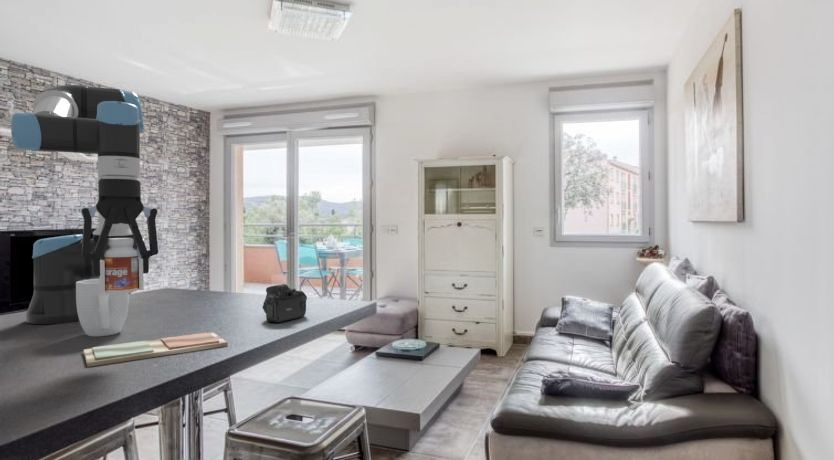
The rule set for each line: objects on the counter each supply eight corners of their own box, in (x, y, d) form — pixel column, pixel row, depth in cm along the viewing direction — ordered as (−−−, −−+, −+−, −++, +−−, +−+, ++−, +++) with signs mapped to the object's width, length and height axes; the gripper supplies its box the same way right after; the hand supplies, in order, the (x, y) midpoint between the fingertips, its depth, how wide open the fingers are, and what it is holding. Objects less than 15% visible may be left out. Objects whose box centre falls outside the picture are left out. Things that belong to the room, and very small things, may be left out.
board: (83, 353, 106) (83, 347, 106) (213, 335, 122) (212, 330, 122) (87, 366, 97) (87, 360, 97) (227, 345, 112) (227, 340, 112)
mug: (132, 338, 119) (131, 283, 119) (76, 345, 113) (75, 286, 113) (127, 326, 132) (127, 276, 131) (76, 332, 125) (75, 279, 125)
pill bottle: (97, 294, 102) (96, 239, 101) (114, 289, 108) (113, 237, 108) (129, 294, 102) (128, 239, 102) (144, 289, 108) (143, 237, 108)
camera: (277, 314, 148) (276, 280, 148) (309, 315, 147) (309, 281, 146) (255, 323, 135) (254, 286, 135) (290, 325, 134) (289, 287, 133)
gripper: (63, 175, 96) (66, 297, 96) (174, 179, 107) (175, 288, 108) (62, 178, 102) (64, 292, 102) (167, 181, 113) (168, 285, 114)
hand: (121, 290), depth 105 cm, fingers closed on pill bottle, 6 cm apart
